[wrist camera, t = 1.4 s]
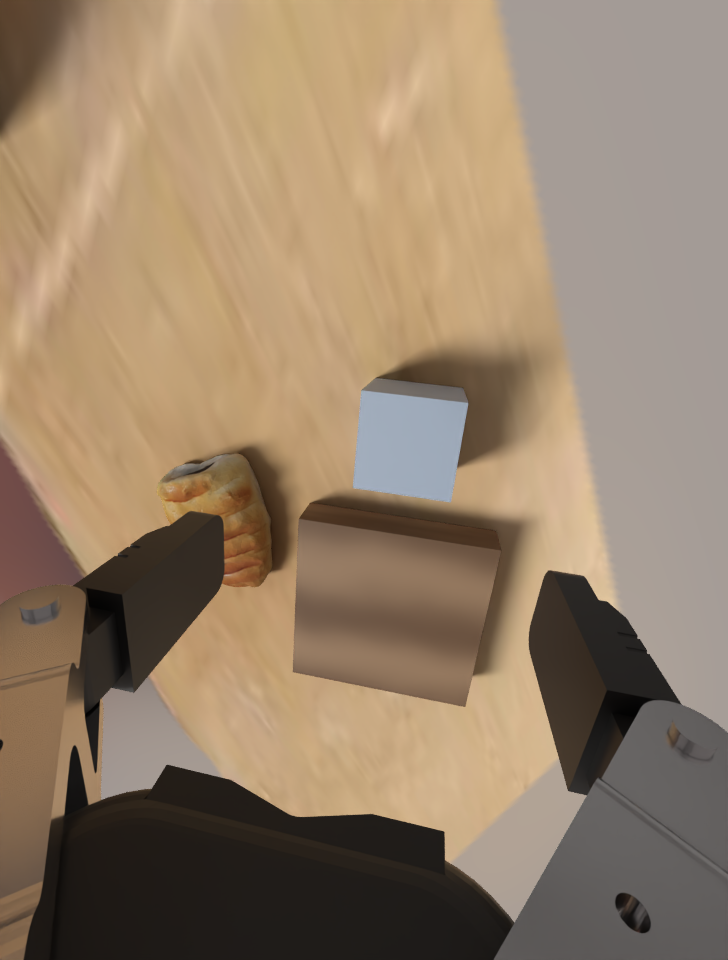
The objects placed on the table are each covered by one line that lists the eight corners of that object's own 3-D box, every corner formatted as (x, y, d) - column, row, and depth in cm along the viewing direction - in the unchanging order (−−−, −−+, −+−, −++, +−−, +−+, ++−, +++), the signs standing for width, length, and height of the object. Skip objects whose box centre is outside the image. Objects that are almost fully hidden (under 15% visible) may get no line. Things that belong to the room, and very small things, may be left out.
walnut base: (312, 499, 29) (298, 518, 26) (495, 527, 27) (501, 550, 25) (305, 642, 33) (292, 671, 30) (462, 673, 32) (465, 706, 29)
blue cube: (375, 377, 25) (361, 390, 20) (463, 387, 24) (468, 403, 20) (367, 459, 27) (352, 487, 22) (448, 470, 26) (450, 502, 22)
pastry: (300, 565, 30) (282, 597, 27) (220, 583, 32) (193, 615, 29) (247, 441, 28) (219, 459, 24) (163, 469, 30) (126, 489, 26)
